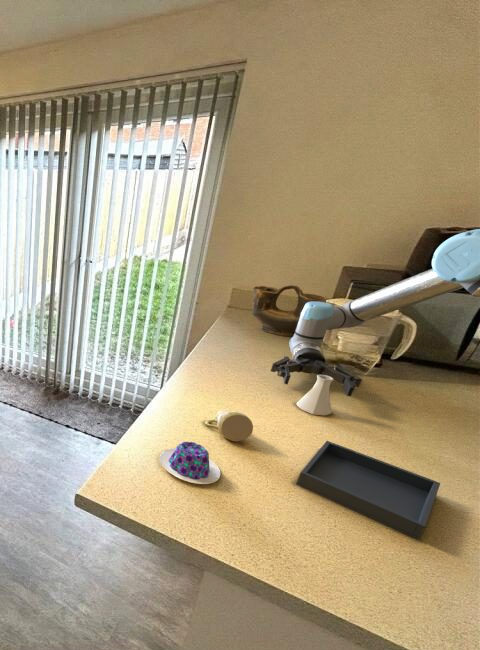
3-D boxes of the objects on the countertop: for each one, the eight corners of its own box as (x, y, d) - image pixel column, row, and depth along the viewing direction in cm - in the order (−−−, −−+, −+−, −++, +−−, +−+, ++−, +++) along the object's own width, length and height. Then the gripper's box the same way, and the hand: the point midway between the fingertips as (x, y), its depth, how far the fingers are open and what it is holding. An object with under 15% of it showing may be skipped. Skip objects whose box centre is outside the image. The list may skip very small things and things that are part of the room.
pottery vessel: (238, 327, 168) (250, 281, 160) (248, 321, 174) (260, 277, 167) (311, 343, 150) (329, 293, 142) (319, 337, 156) (336, 288, 148)
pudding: (169, 484, 83) (173, 464, 81) (152, 449, 94) (156, 430, 91) (230, 489, 81) (236, 468, 79) (205, 452, 92) (211, 434, 90)
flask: (289, 403, 111) (301, 371, 107) (313, 401, 112) (325, 370, 108) (312, 417, 105) (324, 384, 101) (337, 415, 105) (351, 382, 101)
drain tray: (433, 495, 78) (440, 482, 77) (417, 540, 69) (425, 526, 67) (321, 452, 91) (326, 440, 90) (295, 484, 82) (300, 472, 81)
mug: (233, 421, 104) (257, 403, 96) (233, 453, 98) (259, 437, 90) (204, 411, 105) (225, 392, 97) (203, 442, 100) (226, 425, 92)
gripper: (356, 378, 120) (374, 409, 103) (257, 360, 132) (259, 386, 116) (365, 355, 117) (385, 384, 101) (263, 340, 129) (266, 363, 113)
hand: (318, 385), depth 108 cm, fingers open, 13 cm apart
